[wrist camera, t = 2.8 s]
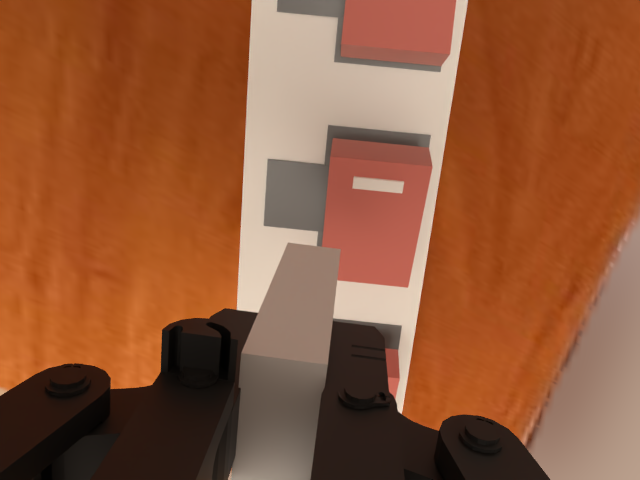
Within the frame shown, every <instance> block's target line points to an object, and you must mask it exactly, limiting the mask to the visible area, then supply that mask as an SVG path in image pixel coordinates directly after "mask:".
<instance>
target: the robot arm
mask: <svg viewBox="0 0 640 480" xmlns="http://www.w3.org/2000/svg"><path fill="white" fill-rule="evenodd" d="M340 252H341V249H335V248H328V247H320V246H312V245H304V244H296V243H289V242H288V244H287V246H286V248H285V251H284V253H283V255H282V258H281V260H280V263H279V265H278V267H277V270H276V272H275V274H274V277H273V279H272V281H271V284H270V286H269V289H268V291H267V293H266V296H265V298H264V300H263V303H262V305H261V307H260V310H259V312H258V313H256V312H249V311H241V310H234V309H226V308H225V309H223V310H221V311H219V312H218V313H216V314H214V315H212V316H211V317H210V318H209V319H205V318H192V319H184V320H180V321H177V322H174V323H171V324H169V325H168V326H166V327H165V328H164V329H163V330H162V352H161V373H160V374H159V376H158V377H157V379H156V380H155V382H154V383H153V385H151V386H147V387H139V388H126V389H110V384H111V378H110V377H109V375H108V374H107V373H106V371H104V370H102V369H100V368H98V367H95V366H90V365H84V364H64V365H61V366H57V367H52V368H48V369H46V370H44V371H42V372H40V373H37V374H35V375H34V376H32V377H30V378H29V379H27V380H25V381H24V382H22V383H21V384H19V385H17V386H16V387H14V388H12V389H11V390H9V391H7V392H6V393H4V394H3V395H1V396H0V480H228V477H229V474H230V471H231V468H232V475H231V480H550V479H549V477H548V476H547V475H546V473H545V472H544V471H543V470H542V468H541V467H540V466H539V464H538V463H537V462H536V461H535V459H534V458H533V457H532V455H531V454H530V453H529V452H528V450H527V449H526V448H525V446H524V445H523V444H522V443H521V441H520V440H519V439H518V438H517V437H516V436H515V435H514V434H513V433H512V432H511V431H510V430H509V429H507V428H506V427H504V426H502V425H500V424H499V423H497V422H495V421H493V420H491V419H488V418H487V419H486V418H485V417H481V416H473V415H457V416H451V417H450V418H448V419H446V420H445V421H443V422H442V425H441V427H440V430H439V431H437V430H434V429H431V428H428V427H425V426H423V425H420V424H418V423H415V422H413V421H411V420H410V419H408V418H406V417H405V416H403V415H402V414H401V413H400V412H398V409H397V403H396V400H395V398H394V396H393V395H392V394H391V393H390V392H389V385H388V373H387V362H386V351H385V339H384V337H383V335H382V334H381V333H380V332H379V331H378V330H377V329H376V327H375V326H367V325H360V324H352V323H345V322H337V321H333V314H334V305H335V296H336V287H337V278H338V270H339V261H340Z"/></svg>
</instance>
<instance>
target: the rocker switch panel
mask: <svg viewBox="0 0 640 480" xmlns="http://www.w3.org/2000/svg"><path fill="white" fill-rule="evenodd" d="M345 1H346V0H252V8H251V29H250V49H249V70H248V90H247V111H246V132H245V152H244V173H243V193H242V214H241V234H240V255H239V276H238V296H237V310H241V311H249V312H256V313H258V312H259V310H260V307H261V305H262V303H263V300H264V298H265V296H266V293H267V291H268V289H269V286H270V284H271V281H272V279H273V277H274V274H275V272H276V270H277V267H278V265H279V263H280V260H281V258H282V255H283V253H284V251H285V248H286V246H287V244H288V242H289V243H296V244H304V245H312V246H320V247H322V241H323V230H324V219H325V208H326V198H327V187H328V176H329V165H330V155H331V148H332V140H333V138H338V139H348V140H358V141H368V142H378V143H388V144H398V145H408V146H418V147H429V151H430V156H431V161H432V166H433V168H432V173H431V177H430V182H429V187H428V192H427V197H426V202H425V207H424V212H423V217H422V222H421V227H420V232H419V237H418V242H417V247H416V251H415V256H414V261H413V266H412V271H411V276H410V281H409V286H408V288H406V287H396V286H387V285H377V284H368V283H358V282H348V281H339V280H337V287H336V296H335V305H334V314H333V321H337V322H345V323H352V324H360V325H367V326H375V327H376V329H377V330H378V331H379V332H380V333H381V334H382V335H383V337H384V339H385V348H387V349H396V350H398V356H399V374H400V380H399V384H398V389H397V394H396V398H395V400H396V403H397V409H398V412H400V413H401V414H402V410H403V403H404V397H405V391H406V385H407V378H408V372H409V366H410V360H411V354H412V347H413V341H414V335H415V329H416V322H417V316H418V310H419V304H420V297H421V291H422V285H423V279H424V272H425V266H426V260H427V254H428V247H429V241H430V235H431V229H432V223H433V216H434V210H435V204H436V198H437V191H438V185H439V179H440V173H441V166H442V160H443V154H444V148H445V141H446V135H447V129H448V123H449V116H450V110H451V104H452V98H453V92H454V85H455V79H456V73H457V67H458V60H459V54H460V48H461V42H462V35H463V29H464V23H465V17H466V10H467V4H468V0H456V7H455V16H454V25H453V34H452V42H451V51H450V55H449V56H448V58H447V59H446V60H445V62H444V63H443V64H442V66H433V65H422V64H412V63H402V62H391V61H381V60H370V59H360V58H349V57H341V41H342V31H343V21H344V11H345Z"/></svg>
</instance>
